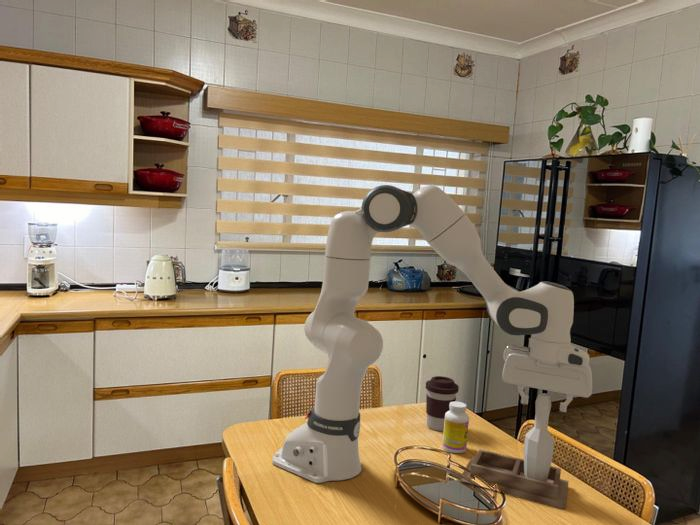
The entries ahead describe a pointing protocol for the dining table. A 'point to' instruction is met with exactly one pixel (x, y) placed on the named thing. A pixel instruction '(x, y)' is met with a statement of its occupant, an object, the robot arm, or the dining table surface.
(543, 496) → the slot rack
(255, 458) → the dining table surface
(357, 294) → the robot arm
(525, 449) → the low poly bottle
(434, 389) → the coffee cup
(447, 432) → the supplement bottle
